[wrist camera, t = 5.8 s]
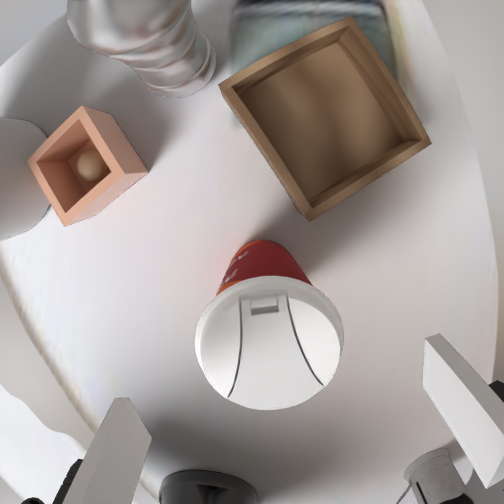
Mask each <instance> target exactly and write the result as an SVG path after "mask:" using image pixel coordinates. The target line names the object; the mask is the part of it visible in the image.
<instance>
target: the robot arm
mask: <svg viewBox="0 0 504 504" xmlns="http://www.w3.org/2000/svg"><path fill="white" fill-rule="evenodd" d="M422 387H423V388H424V390H425V391H426V393H427V394H428V396H429V397H430V399H431V400H432V402H433V403H434V405H435V406H436V408H437V409H438V411H439V413H440V414H441V416H442V417H443V419H444V420H445V422H446V423H447V425H448V427H449V428H450V430H451V431H452V433H453V434H454V436H455V438H456V439H457V441H458V442H459V444H460V446H461V447H462V449H463V451H464V452H465V454H466V456H467V457H468V459H469V460H470V462H471V464H472V466H473V467H474V469H475V471H476V472H477V474H478V476H479V477H480V479H481V481H482V482H483V484H484V486H485V488H486V489H487V488H489V487H490V486H492V485H494V484H495V483H497V482H499V481H500V480H502V479H503V478H504V383H502V382H500V381H498V380H497V381H495V382H493V383H491V384H489V385H488V384H487V383H486V382H485V381H484V380H483V379H482V378H481V377H480V375H479V374H478V373H477V372H476V371H475V370H474V369H473V368H472V367H471V366H470V365H469V363H468V362H467V361H466V360H465V359H464V358H463V357H462V356H461V355H460V354H459V353H458V352H457V351H456V350H455V349H454V348H453V346H452V345H451V344H450V343H449V342H448V341H447V340H446V339H445V338H444V337H443V336H442V335H441V334H440V333H439V334H436V335H434V336H431V337H428V338H425V350H424V369H423V382H422ZM151 440H152V437H151V435H150V434H149V432H148V430H147V429H146V427H145V425H144V424H143V422H142V420H141V419H140V417H139V415H138V413H137V412H136V410H135V408H134V406H133V404H132V403H131V401H130V399H129V398H115V399H114V401H113V403H112V405H111V407H110V409H109V411H108V412H107V414H106V416H105V418H104V420H103V422H102V424H101V426H100V428H99V430H98V432H97V434H96V436H95V438H94V440H93V441H92V444H91V446H90V448H89V449H88V451H87V453H86V455H85V457H84V459H78V460H77V461H76V462H75V463H74V464H73V465H72V466H71V467H70V469H69V471H68V473H67V475H66V476H67V477H66V478H65V479H64V481H63V485H61V487H60V489H59V491H58V493H57V495H56V497H55V499H54V501H53V504H131V502H132V499H133V496H134V493H135V490H136V486H137V483H138V480H139V477H140V474H141V471H142V468H143V465H144V462H145V458H146V455H147V452H148V449H149V446H150V443H151ZM503 491H504V490H503ZM159 501H160V504H257V495H256V492H255V491H254V489H253V488H252V487H251V486H250V485H249V484H247V483H246V482H244V481H242V480H240V479H238V478H235V477H232V476H229V475H226V474H222V473H217V472H210V471H183V472H178V473H174V474H172V475H169V476H168V477H166V478H165V479H164V480H163V481H162V483H161V487H160V491H159ZM22 504H45V503H43V502H42V501H41V500H40V499H38V498H34V497H33V498H28V499H26V500H25V501H23V502H22Z"/></svg>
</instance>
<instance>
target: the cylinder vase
mask: <svg viewBox="0 0 504 504" xmlns="http://www.w3.org/2000/svg"><path fill="white" fill-rule="evenodd" d="M46 140H47V137H46V136H45V134H44V133H43V132H42V130H41V129H40V128H39V127H37V126H36V125H35V124H33V123H31V122H29V121H25V120H19V119H11V118H3V117H0V241H3V240H6V239H8V238H11V237H14V236H16V235H19V234H22V233H25V232H27V231H29V230H30V229H32V228H33V227H34V226H35V225H37V224H38V222H39V221H40V220H41V219H42V217H43V216H44V214H45V213H46V211H47V209H48V207H49V204H50V202H49V200H48V199H47V197H46V195H45V194H44V192H43V190H42V188H41V186H40V185H39V183H38V181H37V179H36V177H35V175H34V174H33V172H32V170H31V168H30V166H29V164H28V162H27V160H28V159H29V158H30V157H31V156H32V155H33V154H34V152H35V151H36V150H37V149H38V148H39V147H40V146H41V145H42V144H43V143H44V142H45V141H46Z"/></svg>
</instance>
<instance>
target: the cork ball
mask: <svg viewBox="0 0 504 504" xmlns="http://www.w3.org/2000/svg"><path fill="white" fill-rule="evenodd" d="M107 170H108V165H107V164H106V162H105V161H104V159H103V157H102V156H101V154H100V153H99V151H98V150H97V149H90V150H87V151H85V152H84V153H82V154H81V156H80V157H79V159H78V161H77V172H78V174H79V176H80V177H81V178H82V179H83V180H85V181H87V182H96V181H98V180H100V179H101V178H103V177H104V175H105V174H106V172H107Z"/></svg>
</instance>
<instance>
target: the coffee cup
mask: <svg viewBox="0 0 504 504" xmlns="http://www.w3.org/2000/svg"><path fill="white" fill-rule="evenodd" d="M343 342H344V332H343V325H342V322H341V318H340V316H339V314H338V312H337V310H336V308H335V306H334V305H333V304H332V302H331V301H330V300H329V299H328V298H327V297H326V296H325V295H324V294H323V293H322V292H321V291H319V290H318V289H316V288H315V287H313V285H312V284H311V282H310V281H309V280H308V278H307V277H306V275H305V274H304V272H303V271H302V270H301V268H300V267H299V265H298V264H297V263H296V261H295V260H294V259H293V257H292V256H291V255H290V253H289V252H288V251H287V250H286V249H285V248H284V247H282V246H281V245H279V244H277V243H275V242H272V241H268V240H258V241H253V242H250V243H248V244H246V245H245V246H243V247H242V248H241V249H240V250H239V251H238V252H237V253H236V254H235V256H234V257H233V259H232V261H231V263H230V265H229V267H228V269H227V272H226V274H225V276H224V279H223V281H222V283H221V285H220V288H219V290H218V292H217V295H216V297H215V298H214V299H213V300H212V301H211V302H210V303H209V304H208V305H207V307H206V309H205V310H204V312H203V313H202V315H201V317H200V320H199V322H198V324H197V328H196V333H195V350H196V355H197V358H198V361H199V364H200V366H201V368H202V369H203V371H204V374H205V376H206V378H207V379H208V381H209V383H210V384H211V385H212V386H213V388H214V389H215V390H216V391H217V392H218V393H219V394H221V395H222V396H223V397H224V398H226V399H228V400H230V401H232V402H235V403H237V404H239V405H242V406H245V407H248V408H252V409H257V410H277V409H283V408H288V407H292V406H295V405H298V404H300V403H302V402H304V401H306V400H308V399H309V398H311V397H312V396H314V395H315V394H317V393H318V392H319V391H320V390H322V389H323V388H324V386H326V385H327V384H328V383H329V382H330V380H331V379H332V377H333V376H334V374H335V371H336V369H337V367H338V364H339V360H340V356H341V353H342V349H343Z"/></svg>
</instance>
